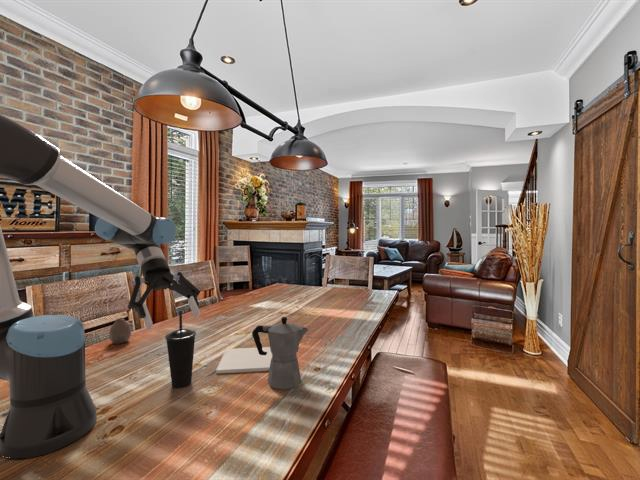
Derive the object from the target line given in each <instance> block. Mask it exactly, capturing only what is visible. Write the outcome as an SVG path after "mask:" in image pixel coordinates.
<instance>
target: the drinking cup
mask: <svg viewBox="0 0 640 480" xmlns="http://www.w3.org/2000/svg"><path fill="white" fill-rule="evenodd" d="M178 312H179V313H178V316H179V319H178V321H179V323H178V324H179V328H178V329H174V330H172V331H171V332H169V333H167V334H166V335H165V336H164V339H165V341H166V346H167V347H166V348H167V355H168V364H169V370H170V381H171V387H172V388H175V389H181V388H186V387H188V386H190V385H191V383H192V379H193V366H194V352H195V341H196V340H195V339H196V335H197V331H196V330H193V329H189V328H183V311H182V310H179V311H178Z"/></svg>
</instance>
